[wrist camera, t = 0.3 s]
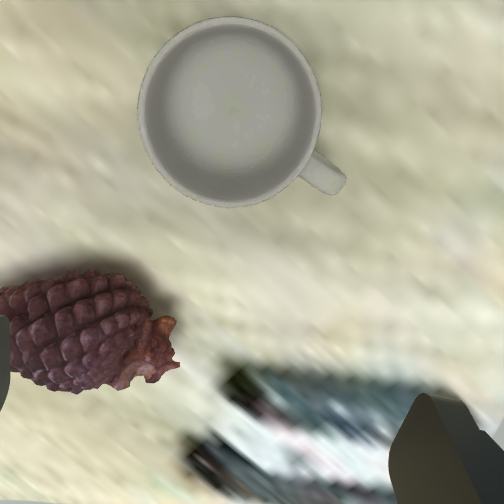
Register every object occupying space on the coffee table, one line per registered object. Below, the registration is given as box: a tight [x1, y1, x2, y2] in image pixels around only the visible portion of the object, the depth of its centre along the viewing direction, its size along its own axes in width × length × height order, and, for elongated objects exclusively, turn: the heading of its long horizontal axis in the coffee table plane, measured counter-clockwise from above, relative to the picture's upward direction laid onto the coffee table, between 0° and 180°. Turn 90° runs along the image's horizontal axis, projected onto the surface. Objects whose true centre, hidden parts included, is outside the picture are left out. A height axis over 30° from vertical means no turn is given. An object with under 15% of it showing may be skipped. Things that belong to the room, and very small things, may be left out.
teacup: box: [137, 16, 346, 208], centre depth 31 cm, size 14×11×8 cm
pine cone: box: [0, 270, 180, 394], centre depth 37 cm, size 18×10×10 cm, turn 78°
